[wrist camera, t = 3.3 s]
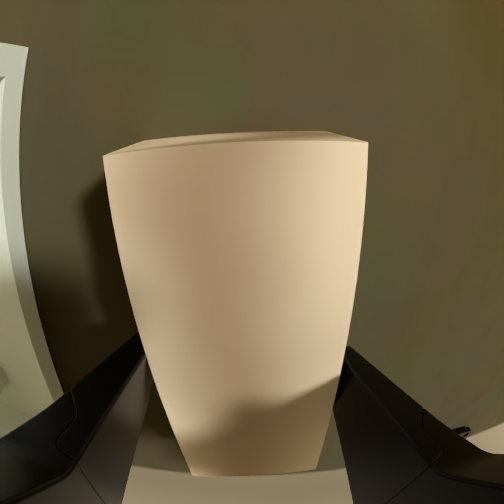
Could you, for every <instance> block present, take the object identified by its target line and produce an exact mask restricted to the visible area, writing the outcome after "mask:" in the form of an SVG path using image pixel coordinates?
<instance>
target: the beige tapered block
mask: <svg viewBox="0 0 504 504" xmlns="http://www.w3.org/2000/svg"><path fill="white" fill-rule="evenodd" d="M367 160H368V142H365V141H361V140H357V139H354V138H350V137H346V136H342V135H338V134H334V133H330V132H321V131H266V132H238V133H220V134H205V135H193V136H182V137H172V138H163V139H154V140H146V141H142V142H139V143H136V144H133V145H130V146H128V147H125V148H122V149H119V150H117V151H114V152H112V153H109V154H106V155H104V156H103V161H104V169H105V176H106V183H107V190H108V196H109V203H110V209H111V215H112V220H113V226H114V231H115V236H116V241H117V246H118V251H119V255H120V260H121V265H122V269H123V273H124V278H125V282H126V286H127V290H128V294H129V298H130V302H131V305H132V309H133V313H134V317H135V320H136V324H137V327H138V331H139V334H140V337H141V341H142V344H143V347H144V351H145V354H146V357H147V360H148V363H149V366H150V369H151V372H152V375H153V378H154V381H155V384H156V387H157V390H158V392H159V395H160V398H161V401H162V403H163V406H164V409H165V411H166V414H167V416H168V419H169V422H170V424H171V427H172V429H173V432H174V434H175V436H176V439H177V441H178V444H179V446H180V448H181V451H182V453H183V455H184V458H185V460H186V462H187V464H188V466H189V469H190V471H191V473H192V475H193V476H251V475H267V474H279V473H289V472H298V471H306V470H313V469H316V467H317V464H318V460H319V457H320V453H321V450H322V446H323V443H324V439H325V436H326V432H327V428H328V424H329V420H330V416H331V412H332V408H333V404H334V400H335V396H336V391H337V387H338V382H339V378H340V373H341V369H342V364H343V359H344V354H345V349H346V343H347V338H348V332H349V327H350V321H351V315H352V309H353V302H354V296H355V289H356V282H357V274H358V267H359V258H360V250H361V241H362V231H363V220H364V209H365V196H366V180H367Z"/></svg>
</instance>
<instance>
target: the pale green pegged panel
mask: <svg viewBox="0 0 504 504" xmlns="http://www.w3.org/2000/svg"><path fill="white" fill-rule="evenodd" d="M28 48H29V47H24V46H18V45H12V44H6V43H0V438H1V437H3V436H5V435H6V434H8V433H9V432H11V431H13V430H14V429H16V428H17V427H19V426H20V425H22V424H23V423H25V422H26V421H28V420H29V419H31V418H33V417H34V416H36V415H37V414H38V413H40V412H41V411H43V410H44V409H46V408H47V407H48V406H50V405H51V404H52V403H53V402H55V401H56V400H57V399H58V398H60V397H61V396H62V395H63V394H64V393H63V391H62V388H61V385H60V382H59V380H58V377H57V374H56V371H55V368H54V365H53V362H52V359H51V356H50V353H49V350H48V346H47V343H46V339H45V336H44V332H43V329H42V325H41V321H40V317H39V313H38V309H37V305H36V301H35V296H34V291H33V287H32V282H31V276H30V271H29V265H28V259H27V253H26V246H25V238H24V230H23V221H22V211H21V197H20V178H19V132H20V113H21V100H22V90H23V81H24V73H25V66H26V60H27V54H28Z"/></svg>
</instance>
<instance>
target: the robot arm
mask: <svg viewBox="0 0 504 504" xmlns="http://www.w3.org/2000/svg"><path fill="white" fill-rule="evenodd" d="M152 379H153V375H152V372H151V369H150V366H149V363H148V360H147V357H146V354H145V351H144V347H143V344H142V341H141V337H140V334H139V332H137V333H136V334H135V335H134V336H133V337H131V338H130V339H129V340H128V341H127V342H125V343H124V344H123V345H122V346H121V347H119V348H118V349H117V350H116V351H115V352H113V353H112V354H111V355H110V356H109V357H107V358H106V359H105V360H104V361H103V362H101V363H100V364H99V365H98V366H97V367H95V368H94V369H93V370H92V371H91V372H90V373H88V374H87V375H86V376H85V377H84V378H82V379H81V380H80V381H79V382H78V383H76V384H75V385H74V386H73V387H72V388H71V389H70V391H67V392H66V393H64V394H63V395H62V396H61V397H60V398H58V399H57V400H56V401H55V402H53V403H52V404H51V405H50V406H48V407H47V408H46V409H44V410H43V411H41V412H40V413H38V414H37V415H36V416H34V417H33V418H31V419H29V420H28V421H26V422H25V423H23V424H22V425H20V426H19V427H17V428H16V429H14V430H13V431H11V432H9V433H8V434H6V435H5V436H3V437H1V438H0V504H122V500H123V496H124V492H125V487H126V484H127V480H128V476H129V472H130V468H131V464H132V460H133V457H134V453H135V449H136V445H137V442H138V438H139V434H140V431H141V427H142V424H143V420H144V417H145V413H146V410H147V406H148V402H149V397H150V392H151V385H152ZM333 412H334V417H335V421H336V426H337V430H338V434H339V439H340V443H341V447H342V452H343V456H344V461H345V466H346V470H347V475H348V480H349V484H350V489H351V494H352V499H353V504H504V454H492V453H488V452H485V451H483V450H481V449H480V448H478V447H476V446H475V445H473V444H472V443H470V442H469V441H467V440H466V438H467V437H468V436H469V434H470V433H471V429H470V428H469V427H466V428H462V429H459V430H455V431H453V430H451V429H450V428H449V427H447V426H446V425H444V424H443V423H442V422H440V421H439V420H438V419H437V418H435V417H434V416H433V415H432V414H430V413H429V412H428V411H427V410H426V409H423V407H422V406H421V405H419V404H418V403H417V402H416V401H415V400H413V399H412V398H411V397H410V396H409V395H407V394H406V393H405V392H404V391H403V390H401V389H400V388H399V387H398V386H397V385H395V384H394V383H393V382H392V381H391V380H389V379H388V378H387V377H386V376H385V375H383V374H382V373H381V372H380V371H379V370H378V369H376V368H375V367H374V366H373V365H372V364H370V363H369V362H368V361H367V360H366V359H364V358H363V357H362V356H361V355H360V354H358V353H357V352H356V351H355V350H354V349H353V348H351V347H350V346H346V349H345V354H344V359H343V364H342V369H341V373H340V378H339V382H338V387H337V391H336V396H335V400H334V404H333Z"/></svg>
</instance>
